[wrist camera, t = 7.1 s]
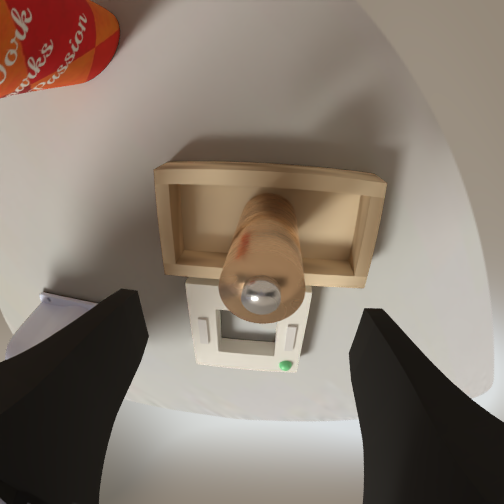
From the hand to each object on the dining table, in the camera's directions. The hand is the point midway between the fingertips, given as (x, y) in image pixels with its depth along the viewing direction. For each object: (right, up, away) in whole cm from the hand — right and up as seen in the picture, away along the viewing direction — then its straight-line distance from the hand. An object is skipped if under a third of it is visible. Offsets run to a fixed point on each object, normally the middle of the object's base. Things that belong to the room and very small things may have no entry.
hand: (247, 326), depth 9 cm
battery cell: (+1, +4, +8) cm, 9 cm away
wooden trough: (+1, +4, +8) cm, 9 cm away
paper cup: (-10, +16, +3) cm, 19 cm away
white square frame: (0, -3, +12) cm, 12 cm away
